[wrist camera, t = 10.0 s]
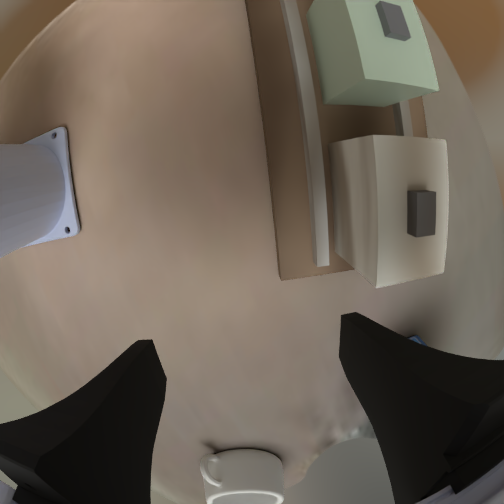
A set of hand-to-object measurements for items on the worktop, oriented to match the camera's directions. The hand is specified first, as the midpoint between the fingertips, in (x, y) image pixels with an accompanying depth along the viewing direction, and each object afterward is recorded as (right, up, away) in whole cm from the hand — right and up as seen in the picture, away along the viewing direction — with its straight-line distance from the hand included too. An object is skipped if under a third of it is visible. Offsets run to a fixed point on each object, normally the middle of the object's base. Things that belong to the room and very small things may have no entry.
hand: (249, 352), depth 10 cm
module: (+6, +16, +4) cm, 18 cm away
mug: (-2, -21, +17) cm, 27 cm away
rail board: (+7, +13, +6) cm, 16 cm away
